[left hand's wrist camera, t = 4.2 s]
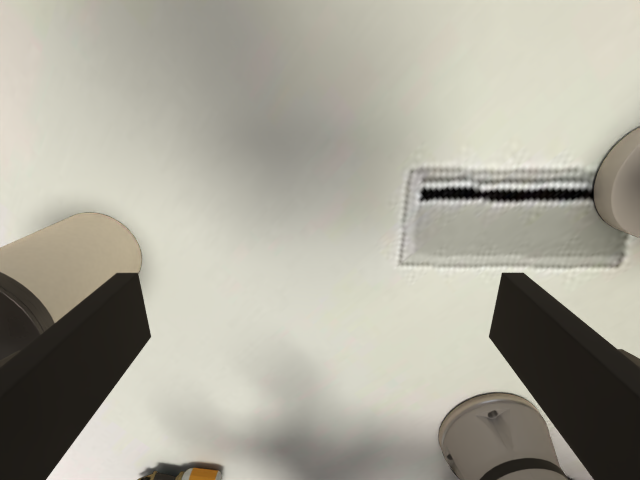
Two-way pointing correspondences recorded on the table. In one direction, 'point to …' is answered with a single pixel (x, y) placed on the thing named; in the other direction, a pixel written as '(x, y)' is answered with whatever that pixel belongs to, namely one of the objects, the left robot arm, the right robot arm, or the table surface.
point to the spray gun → (187, 475)
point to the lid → (19, 316)
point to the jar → (71, 259)
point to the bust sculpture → (620, 186)
